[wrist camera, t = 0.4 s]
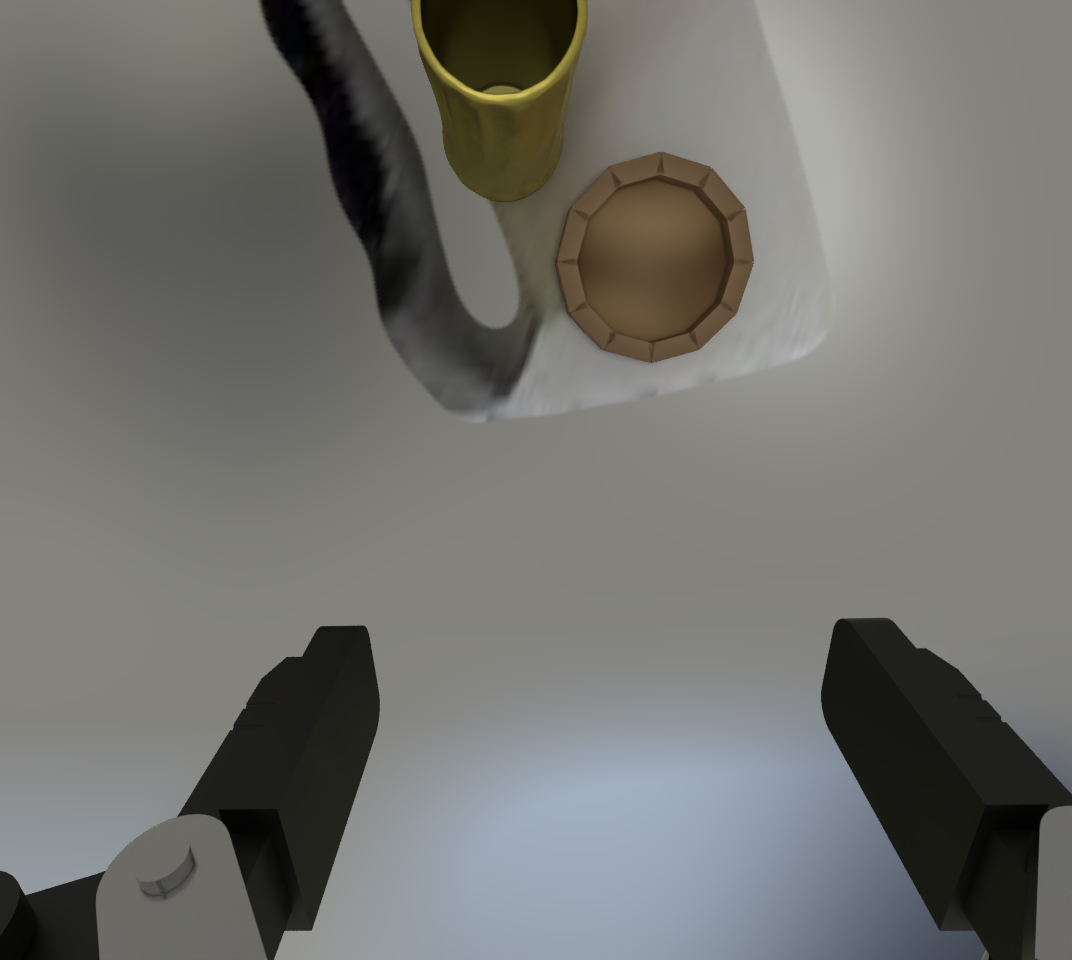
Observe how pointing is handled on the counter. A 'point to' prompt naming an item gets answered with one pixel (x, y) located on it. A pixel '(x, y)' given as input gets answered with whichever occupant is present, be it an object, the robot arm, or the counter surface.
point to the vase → (501, 85)
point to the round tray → (654, 257)
